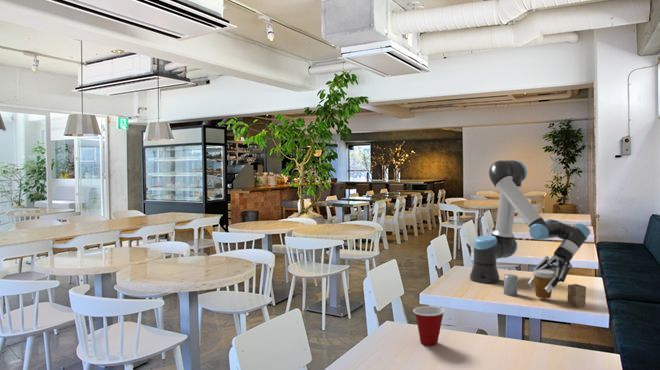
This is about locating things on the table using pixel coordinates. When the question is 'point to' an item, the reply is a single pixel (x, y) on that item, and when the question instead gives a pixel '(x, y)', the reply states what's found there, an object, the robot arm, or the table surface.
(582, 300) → the walnut block
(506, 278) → the grey rounded cylinder
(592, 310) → the table surface
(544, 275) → the disposable coffee cup
